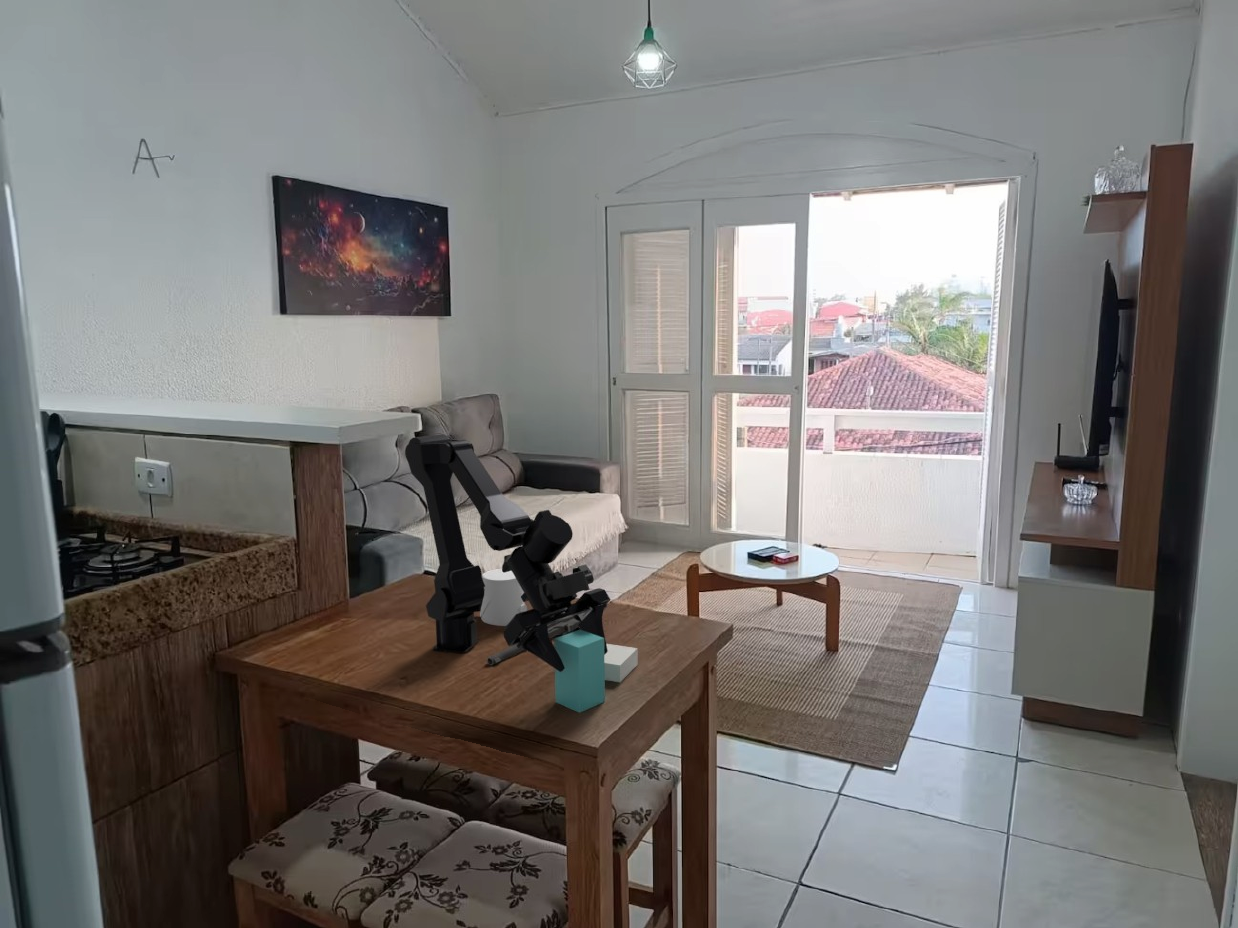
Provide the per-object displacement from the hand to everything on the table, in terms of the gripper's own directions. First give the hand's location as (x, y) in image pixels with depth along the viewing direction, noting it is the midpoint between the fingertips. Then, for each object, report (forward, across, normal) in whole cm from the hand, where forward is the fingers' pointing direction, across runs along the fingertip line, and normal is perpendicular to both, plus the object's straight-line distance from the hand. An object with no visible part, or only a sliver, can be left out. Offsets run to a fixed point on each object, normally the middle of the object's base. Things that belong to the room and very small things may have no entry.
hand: (584, 661), depth 136 cm
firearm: (-16, +14, +27) cm, 34 cm away
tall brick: (+4, 0, +6) cm, 7 cm away
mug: (-24, +15, +34) cm, 44 cm away
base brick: (0, +12, +10) cm, 15 cm away
